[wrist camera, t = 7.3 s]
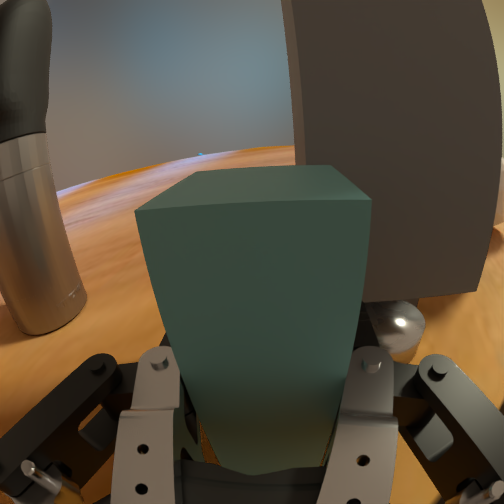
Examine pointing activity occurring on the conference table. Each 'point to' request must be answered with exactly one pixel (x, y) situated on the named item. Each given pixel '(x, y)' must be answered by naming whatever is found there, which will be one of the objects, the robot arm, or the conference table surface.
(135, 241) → the conference table surface
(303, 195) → the green piece
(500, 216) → the geodesic sphere
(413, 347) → the puck
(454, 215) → the cabinet
